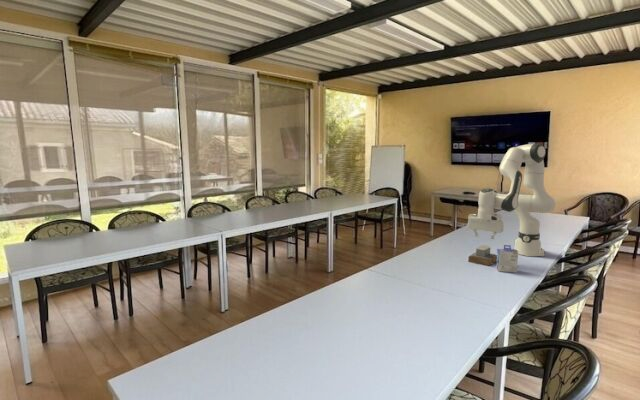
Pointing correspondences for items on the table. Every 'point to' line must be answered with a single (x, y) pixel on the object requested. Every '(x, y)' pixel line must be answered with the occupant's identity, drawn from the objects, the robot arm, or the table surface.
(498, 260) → the ink cartridge box
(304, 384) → the table surface
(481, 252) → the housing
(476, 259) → the wooden tray
